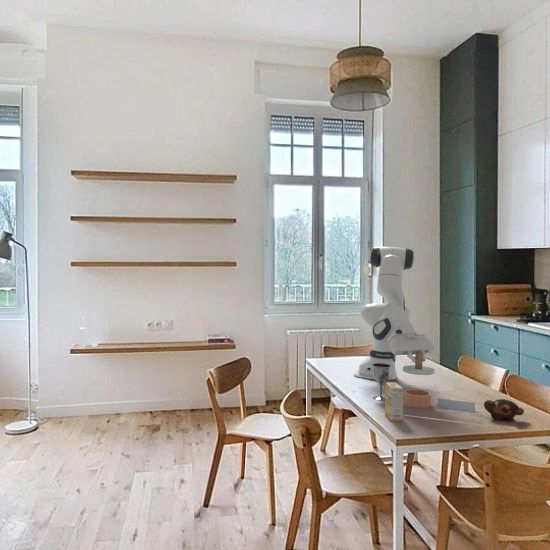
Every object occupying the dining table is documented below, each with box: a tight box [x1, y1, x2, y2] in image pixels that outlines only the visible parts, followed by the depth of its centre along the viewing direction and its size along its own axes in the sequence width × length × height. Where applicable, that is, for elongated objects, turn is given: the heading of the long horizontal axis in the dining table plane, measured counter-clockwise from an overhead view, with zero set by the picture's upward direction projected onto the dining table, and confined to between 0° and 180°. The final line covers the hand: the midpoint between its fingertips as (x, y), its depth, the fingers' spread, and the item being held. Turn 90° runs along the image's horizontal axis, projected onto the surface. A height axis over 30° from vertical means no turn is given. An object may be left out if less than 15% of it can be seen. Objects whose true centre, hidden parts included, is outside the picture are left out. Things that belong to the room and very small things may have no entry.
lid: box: [402, 352, 436, 376], centre depth 210 cm, size 13×13×8 cm
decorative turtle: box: [483, 398, 525, 422], centre depth 193 cm, size 10×15×8 cm, turn 94°
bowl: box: [403, 388, 432, 409], centre depth 210 cm, size 11×11×6 cm
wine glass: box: [372, 363, 391, 402], centre depth 220 cm, size 8×8×15 cm
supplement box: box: [384, 382, 404, 422], centre depth 192 cm, size 8×5×13 cm, turn 5°
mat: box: [436, 398, 476, 413], centre depth 210 cm, size 15×15×1 cm
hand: (419, 361), depth 209 cm, fingers closed on lid, 3 cm apart
